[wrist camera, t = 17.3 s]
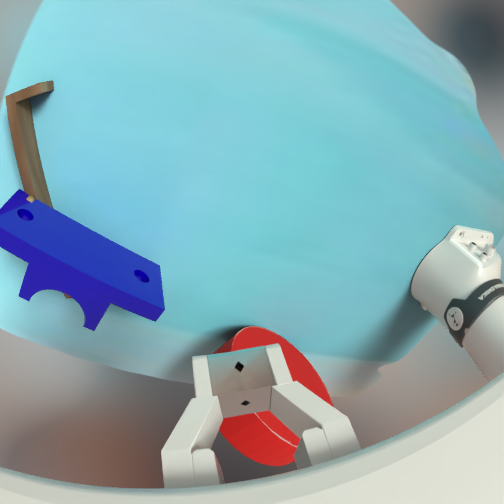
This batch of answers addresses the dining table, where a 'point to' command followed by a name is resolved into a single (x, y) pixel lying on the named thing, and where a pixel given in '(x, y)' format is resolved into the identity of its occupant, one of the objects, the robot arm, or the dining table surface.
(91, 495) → the robot arm
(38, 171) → the handle
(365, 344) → the dining table surface
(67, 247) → the mounting bracket
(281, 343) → the red hockey puck
